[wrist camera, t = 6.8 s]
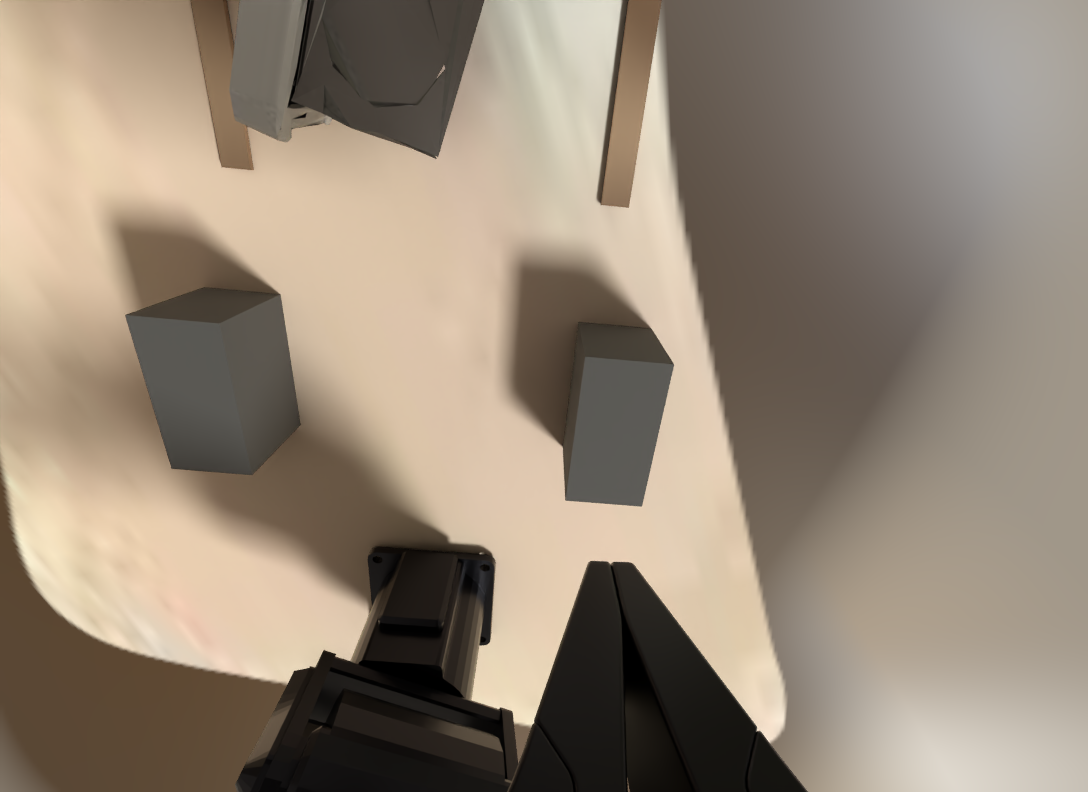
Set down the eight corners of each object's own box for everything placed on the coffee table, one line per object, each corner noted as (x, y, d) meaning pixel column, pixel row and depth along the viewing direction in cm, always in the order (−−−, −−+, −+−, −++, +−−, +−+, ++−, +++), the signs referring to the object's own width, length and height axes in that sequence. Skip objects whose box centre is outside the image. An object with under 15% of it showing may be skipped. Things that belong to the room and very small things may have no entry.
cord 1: (626, 451, 22) (641, 506, 19) (562, 445, 22) (565, 500, 18) (650, 327, 19) (673, 364, 16) (578, 321, 19) (585, 356, 16)
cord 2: (301, 423, 22) (252, 475, 18) (234, 418, 22) (171, 468, 18) (281, 293, 19) (219, 323, 15) (205, 286, 19) (125, 315, 15)
